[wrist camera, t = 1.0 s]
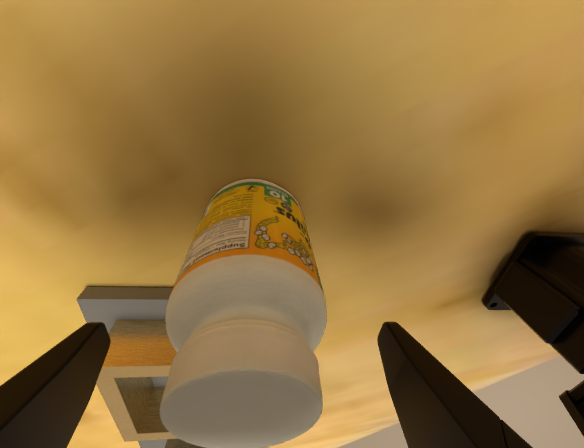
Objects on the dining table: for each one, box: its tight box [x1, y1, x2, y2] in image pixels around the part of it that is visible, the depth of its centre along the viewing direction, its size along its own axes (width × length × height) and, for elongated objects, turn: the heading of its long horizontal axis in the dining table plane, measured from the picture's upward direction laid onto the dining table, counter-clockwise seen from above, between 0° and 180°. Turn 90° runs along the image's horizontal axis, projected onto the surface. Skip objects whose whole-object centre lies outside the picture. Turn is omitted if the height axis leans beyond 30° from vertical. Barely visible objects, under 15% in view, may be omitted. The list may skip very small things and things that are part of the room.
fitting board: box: [77, 287, 173, 448], centre depth 21 cm, size 12×20×1 cm, turn 175°
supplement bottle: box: [160, 179, 327, 448], centre depth 11 cm, size 5×5×10 cm
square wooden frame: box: [96, 320, 178, 441], centre depth 18 cm, size 8×8×3 cm
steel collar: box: [165, 439, 205, 448], centre depth 22 cm, size 4×4×3 cm
